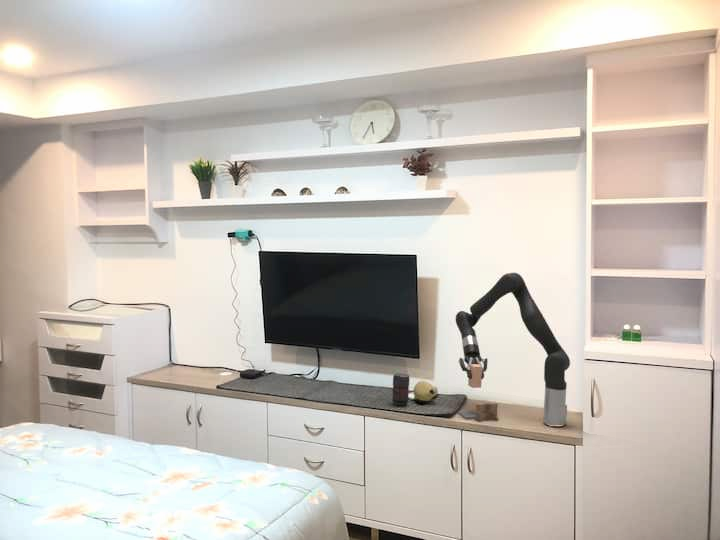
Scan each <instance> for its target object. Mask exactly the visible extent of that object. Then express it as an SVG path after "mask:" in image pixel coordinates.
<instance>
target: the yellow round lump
mask: <svg viewBox="0 0 720 540" xmlns="http://www.w3.org/2000/svg"><path fill="white" fill-rule="evenodd" d="M438 393H439V391H438V388H437V387H436V386H433V385H432V383H430V382H428V381H425V380H420V381H418V382H416V384H415V385H414V387H413V395H414V400H418V399H419V400H418V401H420V400H425V401H427V402H429V401H431V400H432V399H433V398H434V397H436V396H437V395H438Z"/></svg>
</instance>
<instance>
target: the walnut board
mask: <svg viewBox="0 0 720 540" xmlns="http://www.w3.org/2000/svg"><path fill="white" fill-rule="evenodd" d="M498 406H499V404H498V402H488V403H487V402H486V403H476V406H475V407H476V409H475V412H476V417H475V419H474V420H475V421H477V422H479V423H482V422H484V421H495V422H498V421H499V417H498Z"/></svg>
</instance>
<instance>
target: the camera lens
mask: <svg viewBox="0 0 720 540" xmlns="http://www.w3.org/2000/svg"><path fill="white" fill-rule="evenodd" d="M409 389H410V375H409V374H407V373H403V372H398V373H394V374H393V376H392V390H391V391H392V394H391V395H392V396H391V397H392V402H393V406H395V407H401V408H402V407H406V406H407V405H408V402H409Z"/></svg>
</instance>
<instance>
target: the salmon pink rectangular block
mask: <svg viewBox="0 0 720 540" xmlns="http://www.w3.org/2000/svg"><path fill="white" fill-rule="evenodd" d="M482 367H483V365H482V366H480V365H478V364H471V365H470V371H471V376H472V377H471V379H469V378H468V379H467V380H468V382H467V385H468V386H469V387H470V388H472V389H477V388H479V389H480V388H482V383H483V382H482V380H483V379H482Z"/></svg>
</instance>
